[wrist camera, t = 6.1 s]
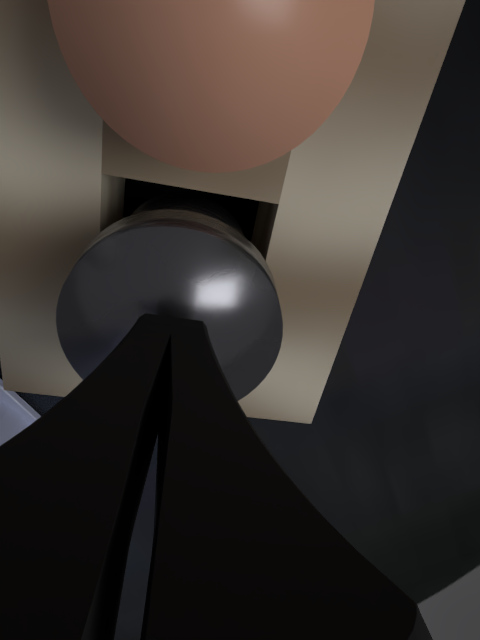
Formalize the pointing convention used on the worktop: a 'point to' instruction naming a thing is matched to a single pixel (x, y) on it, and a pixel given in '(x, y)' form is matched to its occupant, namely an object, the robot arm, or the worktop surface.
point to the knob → (174, 287)
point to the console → (255, 183)
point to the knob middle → (213, 72)
